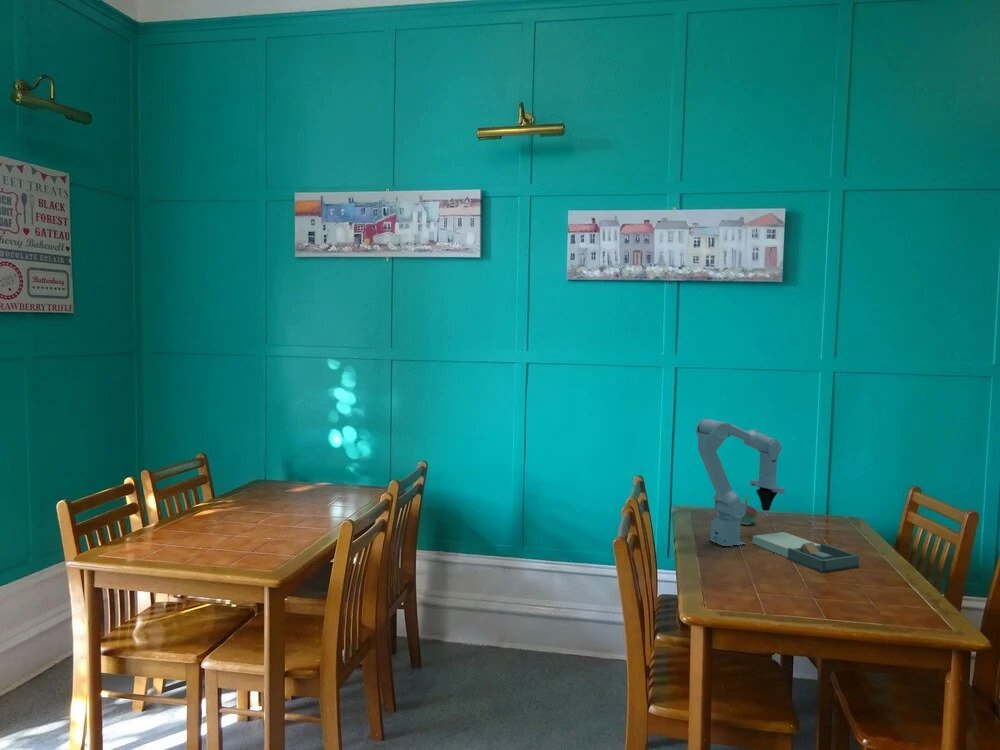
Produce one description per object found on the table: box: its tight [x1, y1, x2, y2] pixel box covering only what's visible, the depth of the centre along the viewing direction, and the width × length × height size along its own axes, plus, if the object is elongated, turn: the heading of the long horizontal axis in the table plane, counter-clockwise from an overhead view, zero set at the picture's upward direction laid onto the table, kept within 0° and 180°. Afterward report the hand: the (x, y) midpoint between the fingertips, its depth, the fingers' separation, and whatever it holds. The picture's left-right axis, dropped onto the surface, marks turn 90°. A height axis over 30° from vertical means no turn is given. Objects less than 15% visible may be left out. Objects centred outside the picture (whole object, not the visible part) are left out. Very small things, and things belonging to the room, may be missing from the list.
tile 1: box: [801, 541, 819, 556], centre depth 229 cm, size 4×4×2 cm
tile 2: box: [812, 552, 832, 560], centre depth 225 cm, size 4×4×2 cm
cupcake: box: [741, 494, 758, 523], centre depth 269 cm, size 9×8×12 cm
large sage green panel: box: [752, 531, 821, 559], centre depth 238 cm, size 14×16×3 cm
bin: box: [787, 543, 860, 573], centre depth 224 cm, size 16×14×4 cm
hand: (765, 510), depth 248 cm, fingers closed
